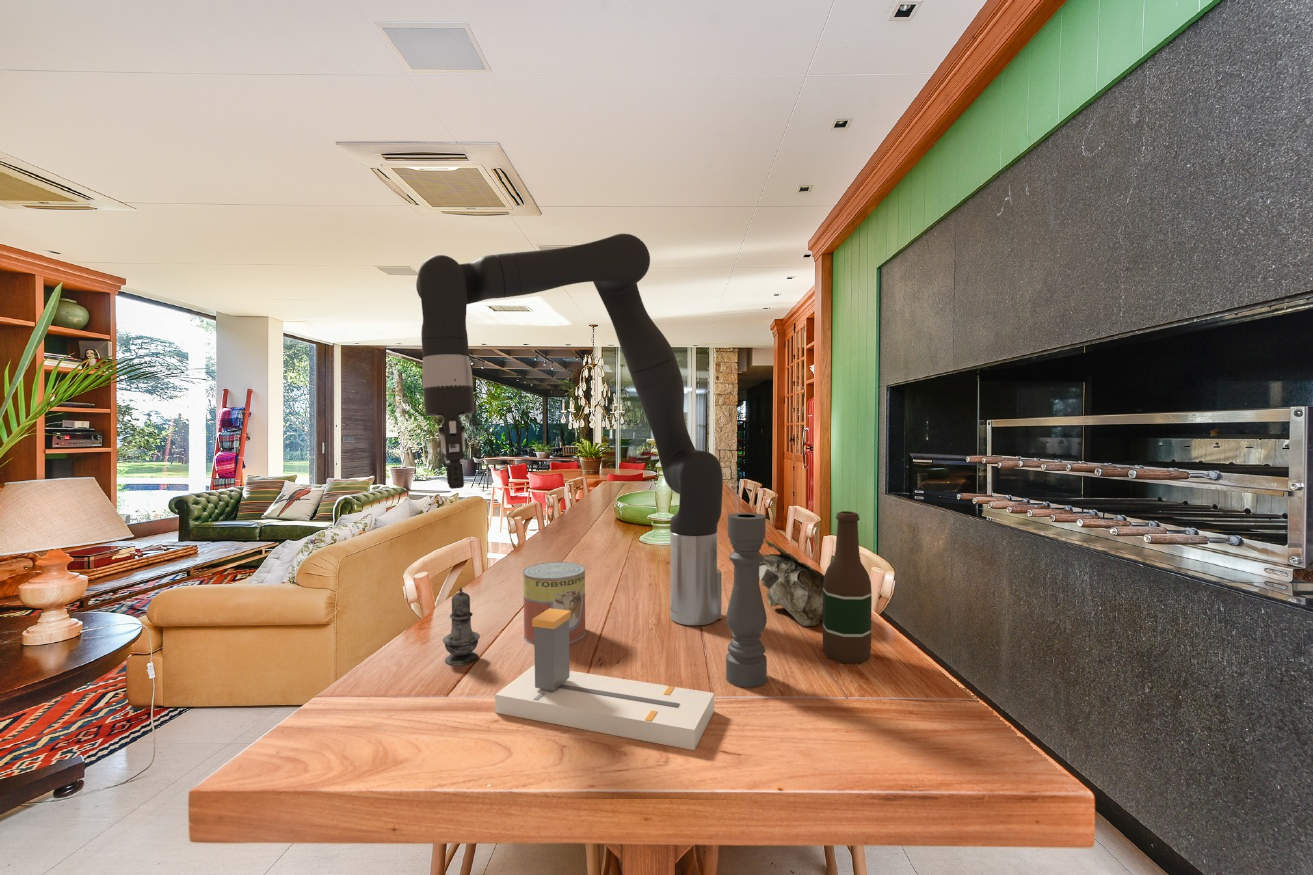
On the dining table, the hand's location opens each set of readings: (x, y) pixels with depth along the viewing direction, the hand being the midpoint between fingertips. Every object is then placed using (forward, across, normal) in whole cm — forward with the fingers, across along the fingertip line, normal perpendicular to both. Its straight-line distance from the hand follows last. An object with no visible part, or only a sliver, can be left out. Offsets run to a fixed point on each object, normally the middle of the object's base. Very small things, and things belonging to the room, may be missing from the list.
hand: (455, 486), depth 96 cm
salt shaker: (+29, +3, +1) cm, 29 cm away
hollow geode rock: (+32, +6, -66) cm, 74 cm away
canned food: (+30, +8, -16) cm, 35 cm away
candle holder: (+32, -20, -39) cm, 55 cm away
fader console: (+31, -22, -16) cm, 42 cm away
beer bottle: (+33, -19, -59) cm, 70 cm away
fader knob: (+27, -18, -10) cm, 34 cm away
